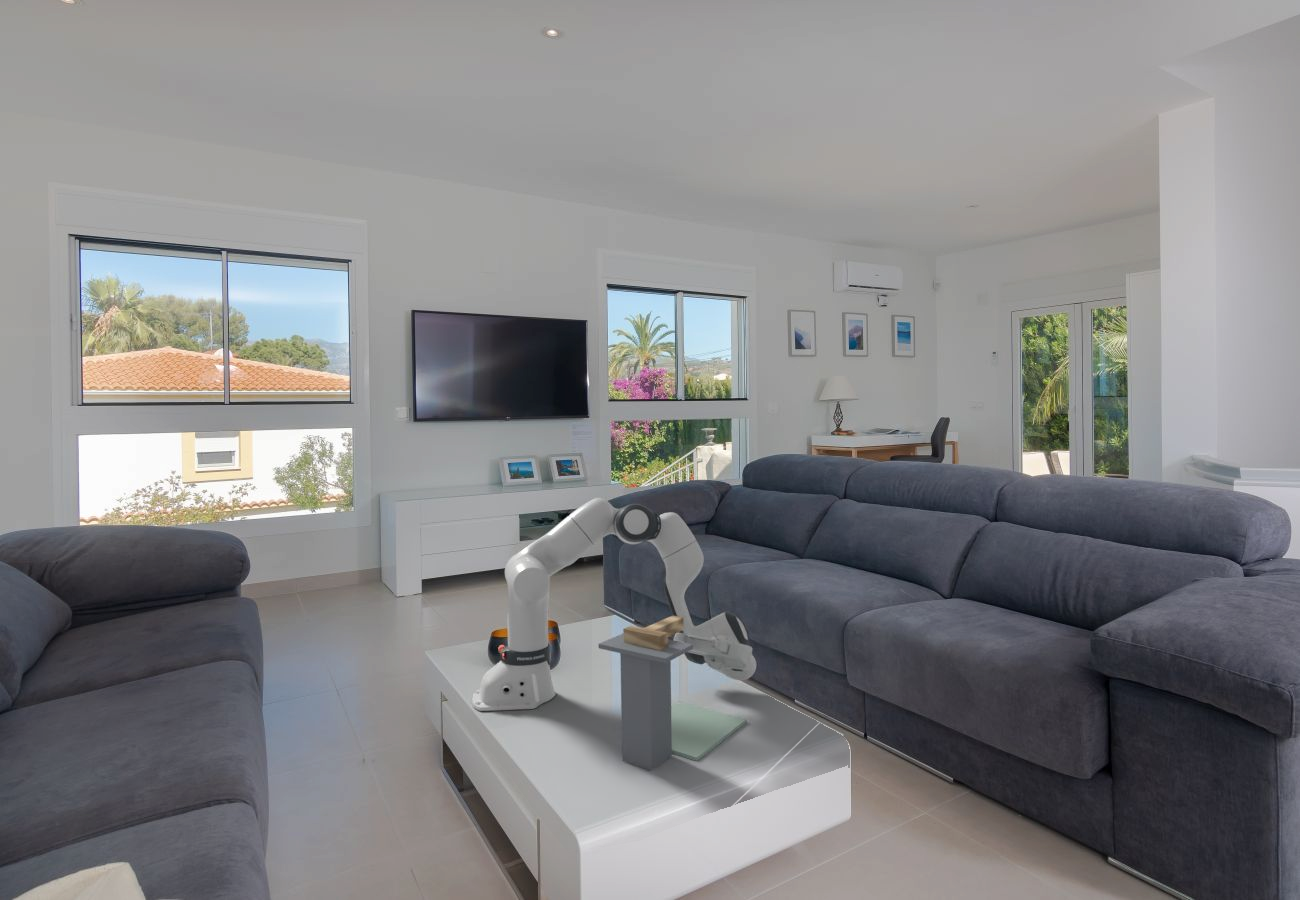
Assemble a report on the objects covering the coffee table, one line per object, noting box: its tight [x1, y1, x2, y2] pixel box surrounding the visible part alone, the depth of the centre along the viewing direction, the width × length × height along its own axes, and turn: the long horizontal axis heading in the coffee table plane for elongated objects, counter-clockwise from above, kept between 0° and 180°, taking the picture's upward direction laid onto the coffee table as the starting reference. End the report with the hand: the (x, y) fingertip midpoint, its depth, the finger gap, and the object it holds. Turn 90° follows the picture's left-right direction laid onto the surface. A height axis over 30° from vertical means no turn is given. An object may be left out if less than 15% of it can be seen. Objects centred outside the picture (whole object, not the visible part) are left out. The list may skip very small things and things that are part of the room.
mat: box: [671, 701, 748, 762], centre depth 172 cm, size 24×20×1 cm
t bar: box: [622, 615, 684, 650], centre depth 162 cm, size 15×10×3 cm, turn 145°
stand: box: [598, 633, 693, 771], centre depth 158 cm, size 11×18×26 cm, turn 55°
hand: (697, 639), depth 175 cm, fingers open, 8 cm apart
